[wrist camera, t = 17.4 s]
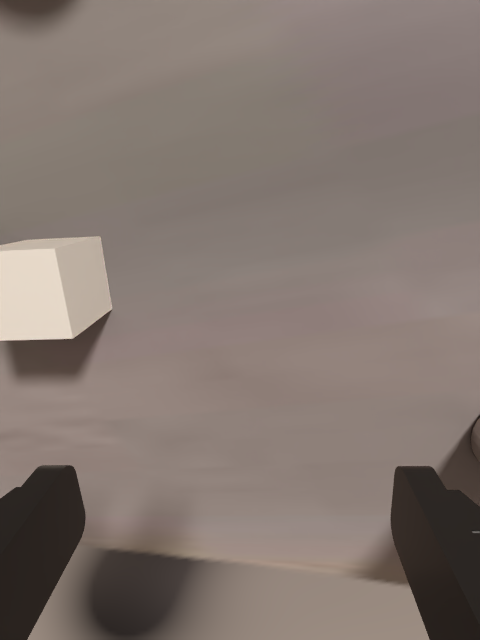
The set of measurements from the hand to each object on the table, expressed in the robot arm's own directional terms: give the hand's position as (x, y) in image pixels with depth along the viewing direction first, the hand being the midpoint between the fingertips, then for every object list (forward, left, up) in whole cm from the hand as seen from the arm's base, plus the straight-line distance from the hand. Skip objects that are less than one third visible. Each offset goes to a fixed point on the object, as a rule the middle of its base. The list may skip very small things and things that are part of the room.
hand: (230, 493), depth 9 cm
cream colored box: (+13, +12, -26) cm, 31 cm away
